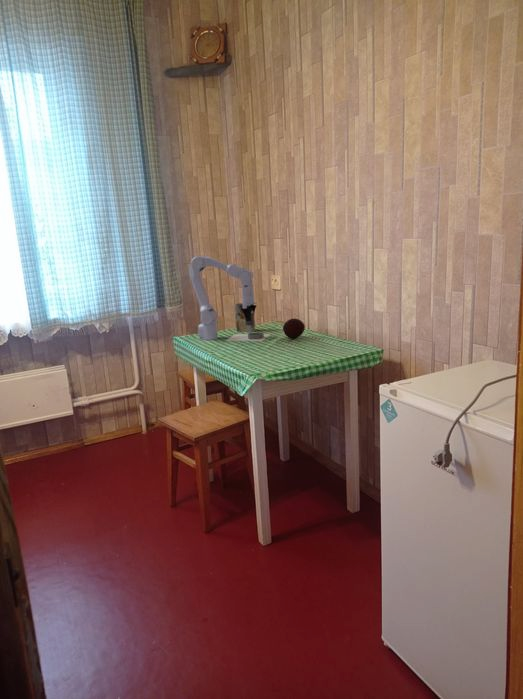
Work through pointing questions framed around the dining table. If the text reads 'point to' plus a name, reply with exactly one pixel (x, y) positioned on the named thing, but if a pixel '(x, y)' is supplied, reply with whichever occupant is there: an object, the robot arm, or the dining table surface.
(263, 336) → the mount board
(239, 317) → the coffee box
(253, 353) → the dining table surface
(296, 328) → the coconut
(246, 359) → the dining table surface
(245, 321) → the lens
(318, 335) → the dining table surface
